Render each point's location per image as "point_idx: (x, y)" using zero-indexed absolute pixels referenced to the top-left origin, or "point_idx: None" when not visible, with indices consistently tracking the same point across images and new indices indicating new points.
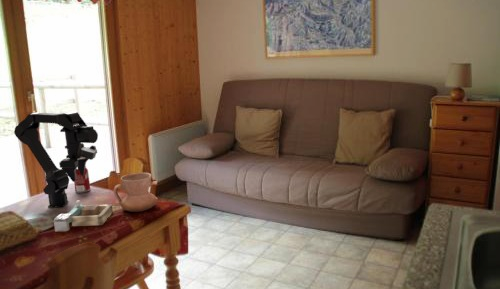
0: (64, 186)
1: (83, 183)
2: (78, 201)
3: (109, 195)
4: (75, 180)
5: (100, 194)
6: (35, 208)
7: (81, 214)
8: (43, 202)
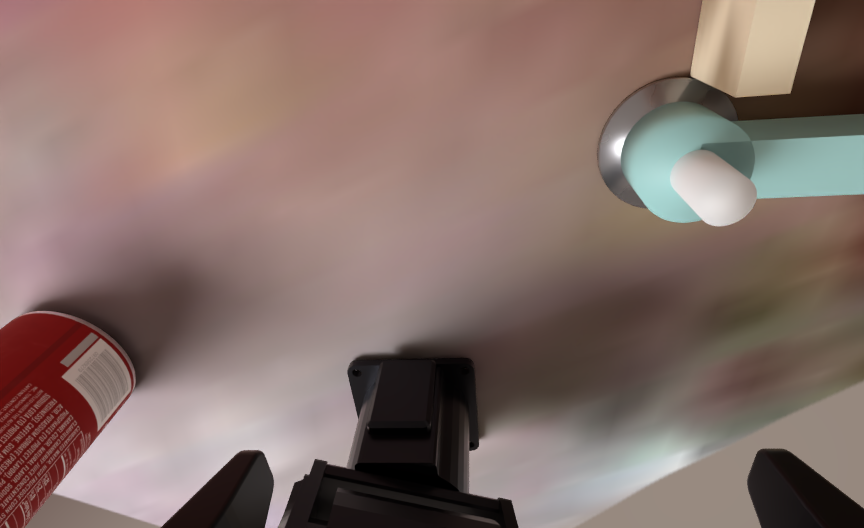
0: (394, 501)
1: (46, 391)
2: (751, 183)
3: (87, 33)
4: (785, 461)
5: (96, 162)
6: None
7: (728, 99)
8: None
